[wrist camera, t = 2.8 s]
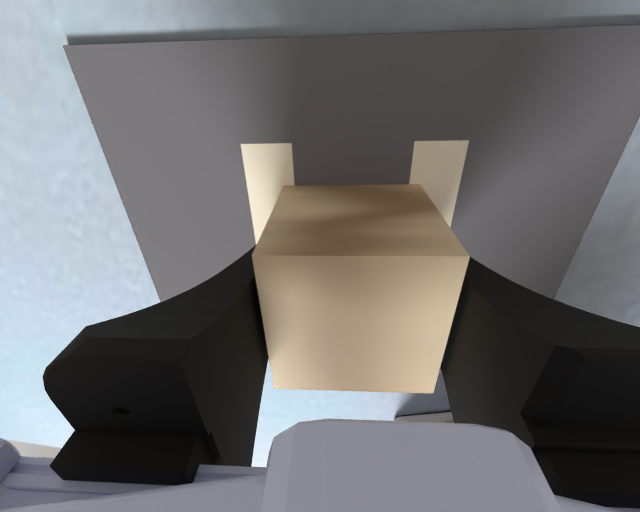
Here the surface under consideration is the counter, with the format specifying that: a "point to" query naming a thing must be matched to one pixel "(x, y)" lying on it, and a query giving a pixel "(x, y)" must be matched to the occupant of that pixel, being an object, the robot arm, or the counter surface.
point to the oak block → (357, 287)
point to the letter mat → (365, 136)
